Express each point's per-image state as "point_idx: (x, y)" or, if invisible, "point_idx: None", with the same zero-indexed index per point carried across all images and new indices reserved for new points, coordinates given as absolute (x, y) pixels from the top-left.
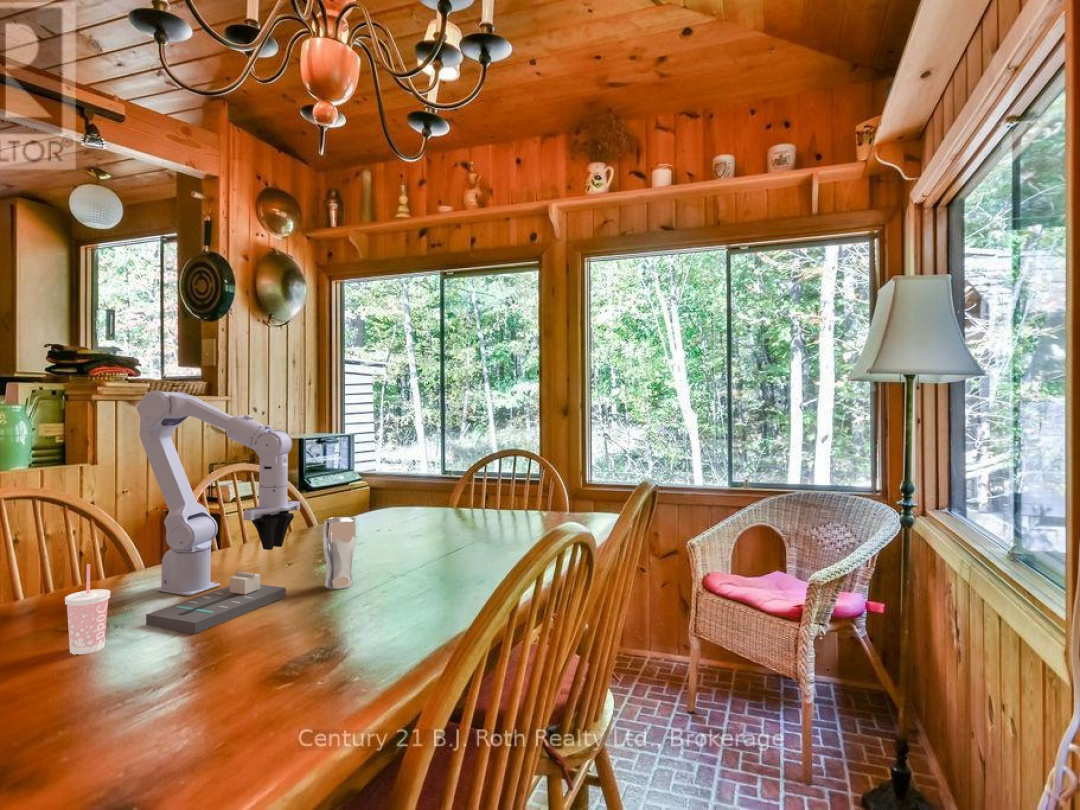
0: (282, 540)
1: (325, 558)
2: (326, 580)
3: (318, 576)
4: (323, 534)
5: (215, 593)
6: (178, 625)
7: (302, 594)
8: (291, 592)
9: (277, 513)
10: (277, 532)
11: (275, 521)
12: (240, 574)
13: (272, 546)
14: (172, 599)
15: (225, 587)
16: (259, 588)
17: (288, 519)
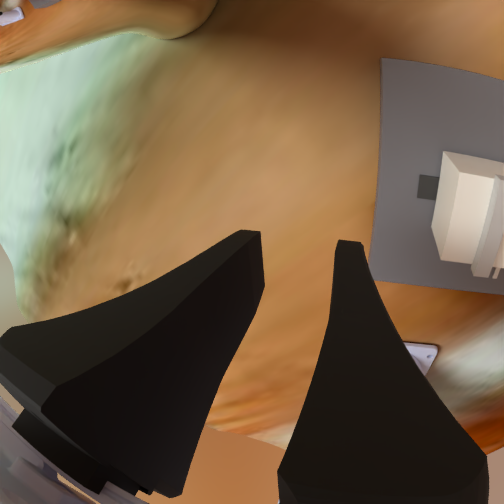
0: (228, 247)
1: (136, 6)
2: (198, 4)
3: (137, 137)
4: (23, 20)
5: (498, 273)
6: None
7: (320, 23)
8: (318, 80)
9: (132, 500)
10: (215, 332)
11: (361, 462)
12: (495, 249)
13: (345, 248)
14: (457, 359)
15: (437, 287)
16: (447, 152)
17: (67, 351)
